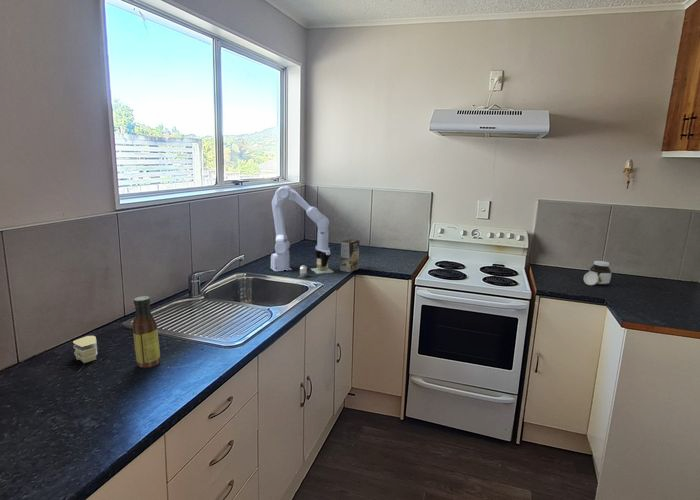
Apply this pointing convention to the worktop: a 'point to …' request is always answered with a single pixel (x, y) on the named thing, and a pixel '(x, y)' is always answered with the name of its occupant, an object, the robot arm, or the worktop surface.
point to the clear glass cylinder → (303, 271)
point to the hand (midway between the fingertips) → (322, 265)
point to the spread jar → (598, 274)
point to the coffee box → (349, 255)
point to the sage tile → (322, 271)
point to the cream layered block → (85, 348)
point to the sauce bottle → (145, 334)
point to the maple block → (319, 264)
